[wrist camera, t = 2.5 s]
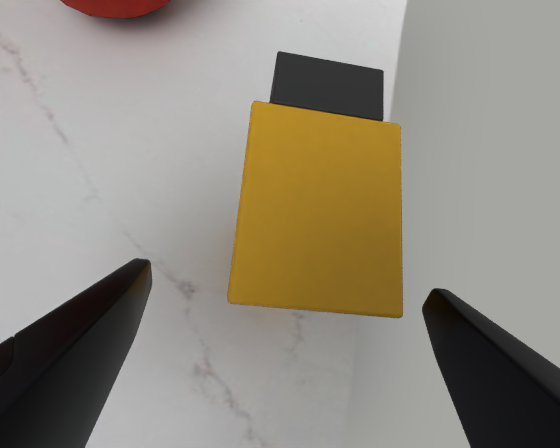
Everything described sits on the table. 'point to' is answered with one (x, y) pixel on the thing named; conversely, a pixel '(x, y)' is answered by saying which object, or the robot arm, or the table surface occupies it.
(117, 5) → the apple
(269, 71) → the table surface
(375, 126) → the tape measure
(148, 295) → the robot arm
